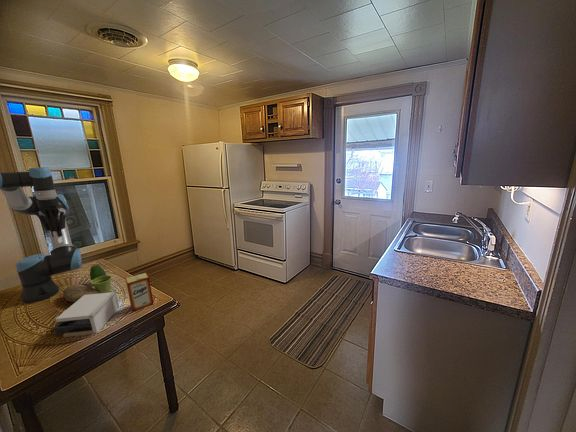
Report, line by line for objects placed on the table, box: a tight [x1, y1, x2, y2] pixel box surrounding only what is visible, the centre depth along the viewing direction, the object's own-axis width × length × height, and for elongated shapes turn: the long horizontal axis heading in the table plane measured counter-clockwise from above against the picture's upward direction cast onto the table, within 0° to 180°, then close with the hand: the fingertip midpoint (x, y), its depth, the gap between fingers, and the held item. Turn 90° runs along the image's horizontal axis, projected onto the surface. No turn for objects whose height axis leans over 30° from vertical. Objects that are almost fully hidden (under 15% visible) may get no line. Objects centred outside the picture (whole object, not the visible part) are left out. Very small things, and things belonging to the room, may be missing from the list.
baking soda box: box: [125, 272, 155, 312], centre depth 125 cm, size 10×6×16 cm
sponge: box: [63, 284, 98, 303], centre depth 133 cm, size 13×8×20 cm
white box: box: [55, 291, 120, 338], centre depth 113 cm, size 14×19×9 cm
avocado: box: [89, 264, 107, 281], centre depth 149 cm, size 8×8×12 cm
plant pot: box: [90, 275, 113, 294], centre depth 137 cm, size 9×9×9 cm
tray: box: [53, 319, 93, 335], centre depth 113 cm, size 16×12×3 cm
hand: (59, 242), depth 127 cm, fingers closed
